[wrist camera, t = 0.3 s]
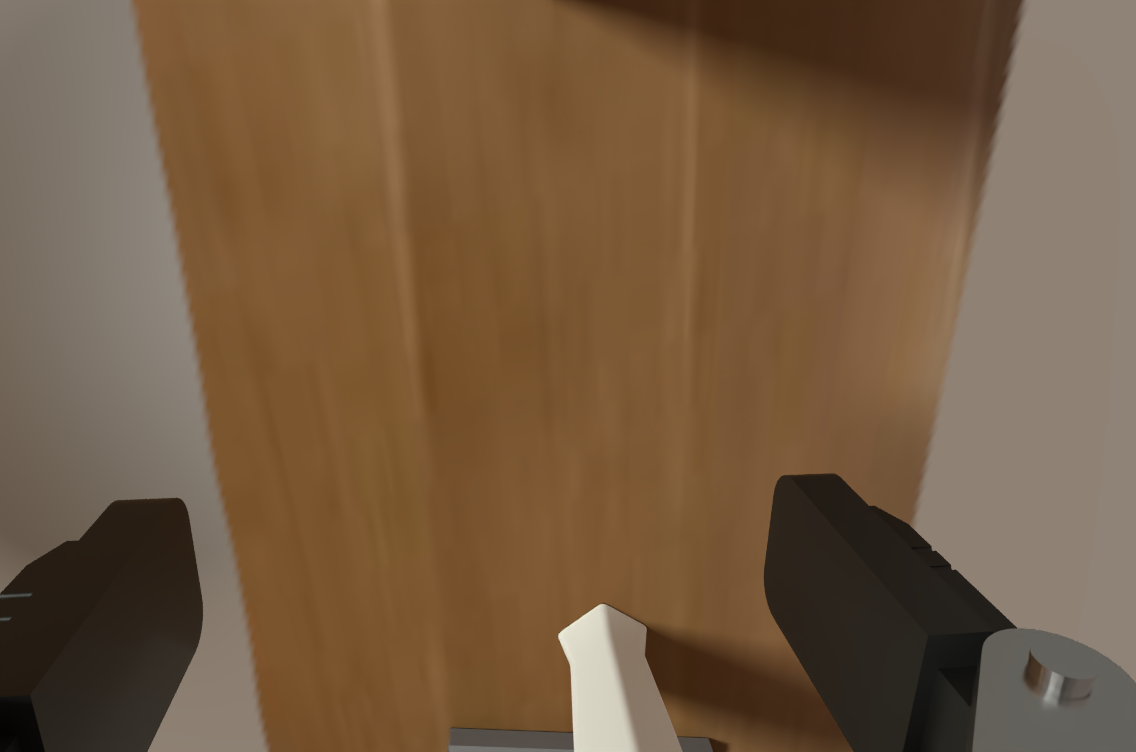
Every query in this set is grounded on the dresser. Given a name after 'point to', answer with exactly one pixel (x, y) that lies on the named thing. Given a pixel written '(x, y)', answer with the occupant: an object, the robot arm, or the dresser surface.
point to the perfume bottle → (614, 686)
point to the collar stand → (535, 741)
